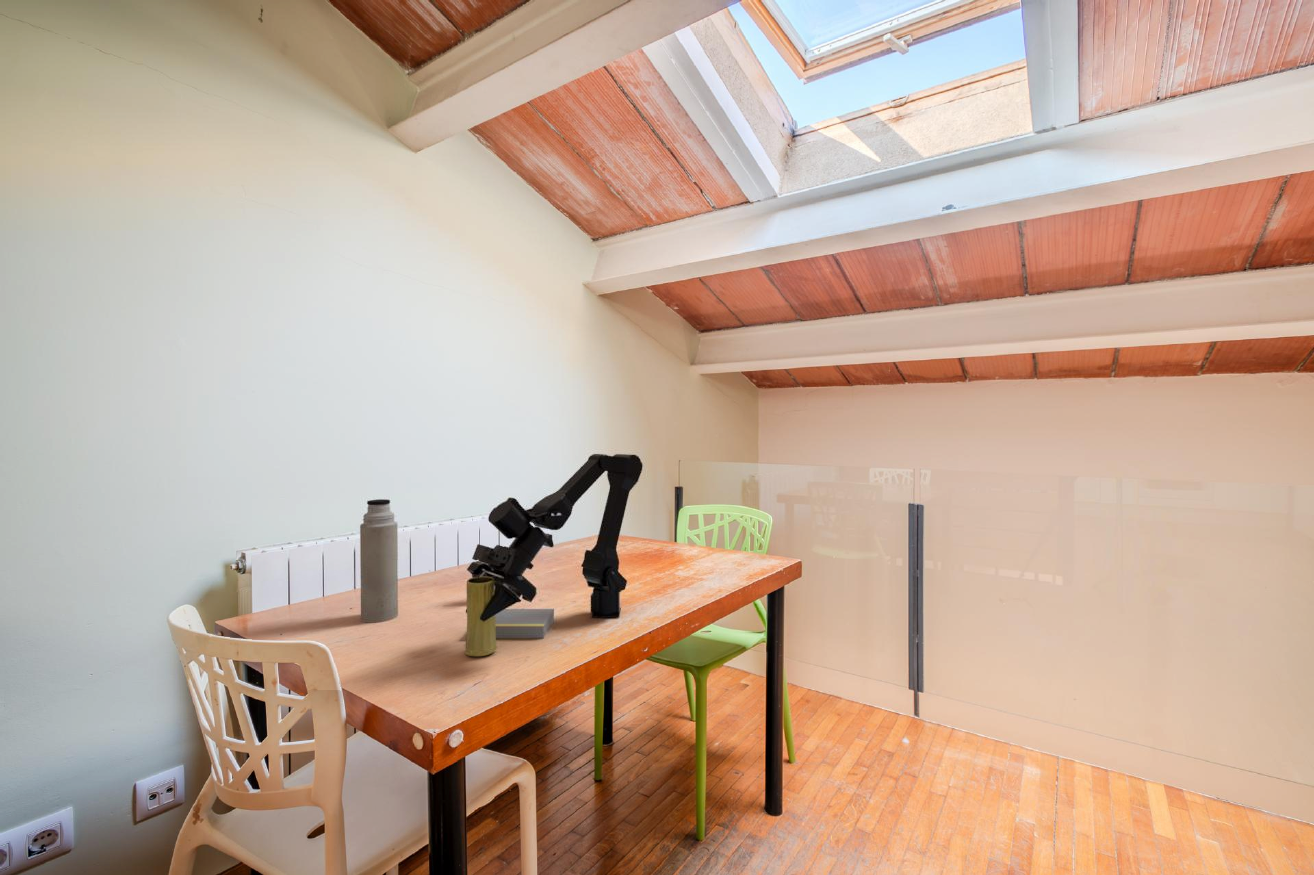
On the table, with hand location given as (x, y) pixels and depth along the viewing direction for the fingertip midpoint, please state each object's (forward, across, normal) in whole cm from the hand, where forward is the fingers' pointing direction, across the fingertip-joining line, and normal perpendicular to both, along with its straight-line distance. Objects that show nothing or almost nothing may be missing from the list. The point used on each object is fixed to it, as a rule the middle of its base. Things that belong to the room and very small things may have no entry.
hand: (474, 616), depth 111 cm
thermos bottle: (+9, -38, +2) cm, 39 cm away
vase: (+4, 0, +6) cm, 7 cm away
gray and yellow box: (-4, -8, +15) cm, 17 cm away
